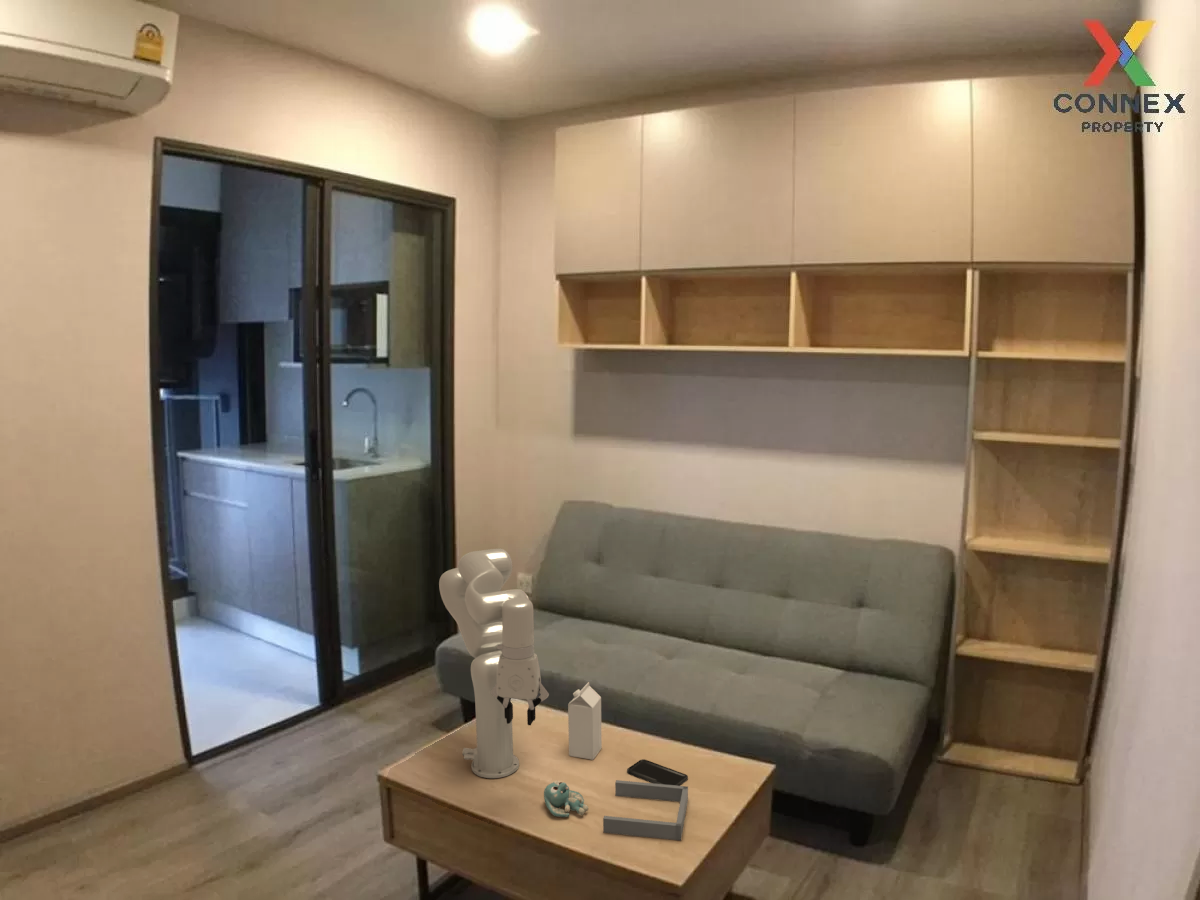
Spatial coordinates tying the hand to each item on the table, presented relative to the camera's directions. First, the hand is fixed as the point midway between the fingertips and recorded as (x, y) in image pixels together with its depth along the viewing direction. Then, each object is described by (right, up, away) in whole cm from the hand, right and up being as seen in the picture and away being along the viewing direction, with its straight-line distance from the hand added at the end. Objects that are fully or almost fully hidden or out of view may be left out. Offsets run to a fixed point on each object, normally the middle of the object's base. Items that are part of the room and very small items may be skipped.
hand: (520, 721), depth 210 cm
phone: (+34, -20, +16) cm, 42 cm away
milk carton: (+15, -18, +28) cm, 37 cm away
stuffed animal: (+11, -22, +1) cm, 24 cm away
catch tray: (+31, -22, -3) cm, 38 cm away
